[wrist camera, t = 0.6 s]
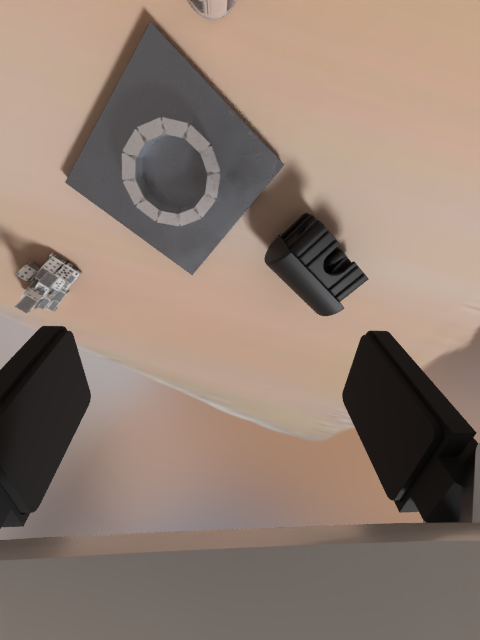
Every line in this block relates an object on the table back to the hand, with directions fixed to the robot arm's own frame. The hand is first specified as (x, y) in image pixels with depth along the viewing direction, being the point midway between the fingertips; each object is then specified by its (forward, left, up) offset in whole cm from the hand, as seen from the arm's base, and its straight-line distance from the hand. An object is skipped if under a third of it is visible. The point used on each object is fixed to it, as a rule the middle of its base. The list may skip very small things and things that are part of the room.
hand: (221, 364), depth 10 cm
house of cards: (+20, -12, -28) cm, 36 cm away
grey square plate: (0, -6, -28) cm, 28 cm away
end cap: (-2, +12, -28) cm, 31 cm away
